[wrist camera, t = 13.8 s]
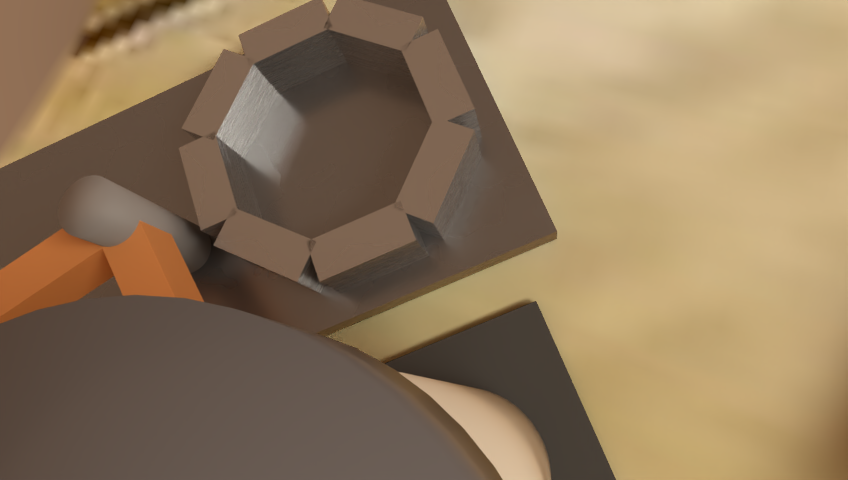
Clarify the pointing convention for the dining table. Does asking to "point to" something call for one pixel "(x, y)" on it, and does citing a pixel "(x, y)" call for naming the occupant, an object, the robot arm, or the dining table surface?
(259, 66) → the socket plate
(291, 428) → the plug
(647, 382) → the dining table surface
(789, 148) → the dining table surface
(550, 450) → the pad
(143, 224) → the clip
